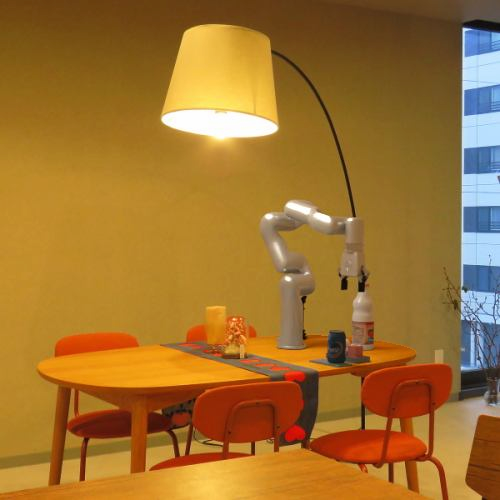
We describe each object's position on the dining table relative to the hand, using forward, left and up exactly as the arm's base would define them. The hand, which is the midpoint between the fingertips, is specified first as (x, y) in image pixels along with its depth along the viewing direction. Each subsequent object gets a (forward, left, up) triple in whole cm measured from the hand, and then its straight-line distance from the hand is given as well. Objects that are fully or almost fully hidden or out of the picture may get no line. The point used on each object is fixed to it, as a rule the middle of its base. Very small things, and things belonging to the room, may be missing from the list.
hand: (352, 291), depth 308 cm
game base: (+5, -7, -26) cm, 28 cm away
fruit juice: (-12, +20, -27) cm, 35 cm away
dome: (+2, -7, -24) cm, 25 cm away
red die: (+9, -7, -24) cm, 27 cm away
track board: (+7, -19, -26) cm, 33 cm away
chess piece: (-52, +19, -27) cm, 62 cm away
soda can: (+10, -19, -26) cm, 34 cm away
